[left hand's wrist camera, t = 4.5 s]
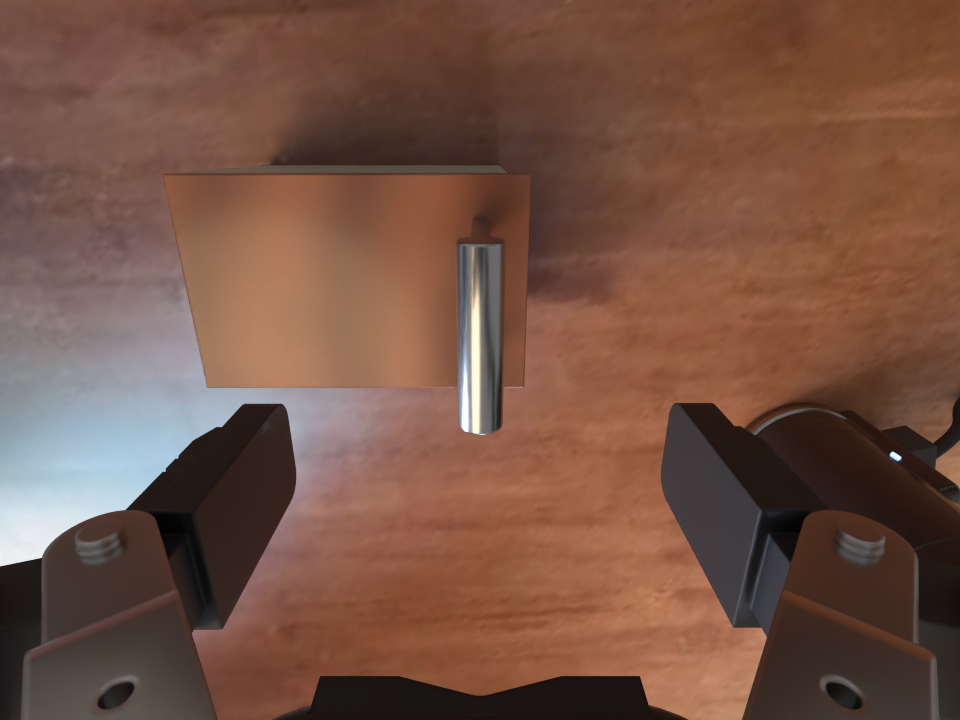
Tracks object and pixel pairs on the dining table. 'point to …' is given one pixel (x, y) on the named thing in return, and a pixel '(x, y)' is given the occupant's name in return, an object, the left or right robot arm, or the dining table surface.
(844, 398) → the dining table surface
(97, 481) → the dining table surface
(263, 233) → the lid
